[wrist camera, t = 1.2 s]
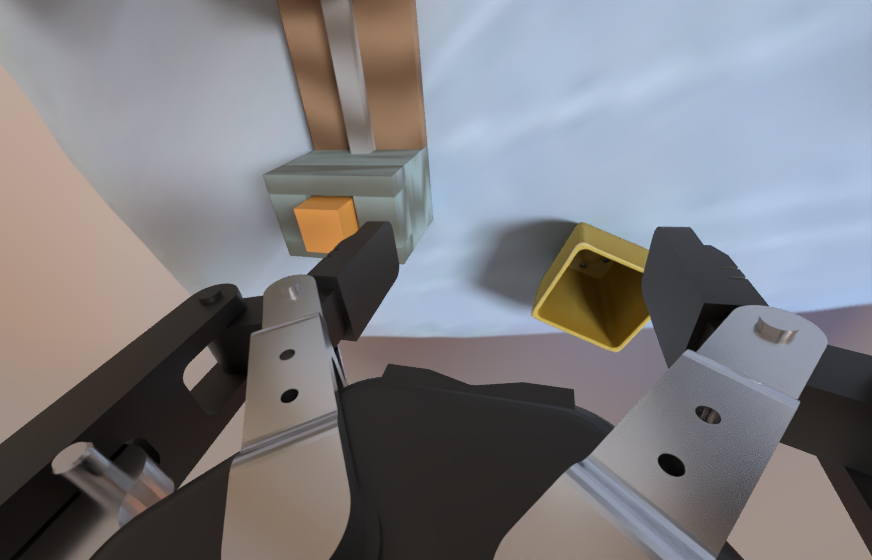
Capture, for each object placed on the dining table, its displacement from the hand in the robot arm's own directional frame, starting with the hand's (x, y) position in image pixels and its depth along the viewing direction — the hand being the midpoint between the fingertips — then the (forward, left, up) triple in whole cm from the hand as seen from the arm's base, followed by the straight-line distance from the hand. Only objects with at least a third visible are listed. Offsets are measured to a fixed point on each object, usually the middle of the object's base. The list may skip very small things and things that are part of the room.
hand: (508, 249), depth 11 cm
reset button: (+7, -16, -16) cm, 24 cm away
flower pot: (+14, +7, -25) cm, 30 cm away
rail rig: (-4, -16, -25) cm, 30 cm away
